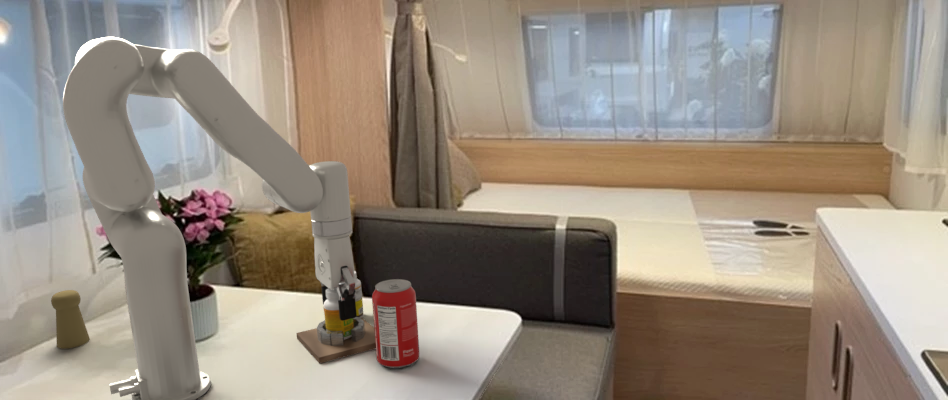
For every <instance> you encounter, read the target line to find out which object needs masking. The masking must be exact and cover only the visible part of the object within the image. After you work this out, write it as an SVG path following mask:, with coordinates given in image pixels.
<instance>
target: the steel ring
mask: <svg viewBox="0 0 948 400" xmlns="http://www.w3.org/2000/svg"><path fill="white" fill-rule="evenodd" d="M353 324H354V328H353V329H351V335H352V341H354V342H357V341H359V340H360V339H362V338H363V337H364V335H365V325H364V321H363V320H362V319H361V318H359V317H355V318H353ZM316 328H317V336H318V340H319V341H320V342H321V343H322V344H325V345H330V346H331V345H332V346H340V345H344V334H343V332H330V331H326V324H325V320H323V321H321V322H319V323H318V324H317V326H316Z"/></svg>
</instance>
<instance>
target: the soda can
mask: <svg viewBox="0 0 948 400" xmlns="http://www.w3.org/2000/svg"><path fill="white" fill-rule="evenodd" d="M374 287H375V289H374V291H373V292H372V295H371V301H372V302H371V303H372V315H373V316H372V318H373V327H374V330H375V343H376V349H375V355H376V361H377V362H378V364H379V365H381V366H383V367H386V368H389V369H404V368H408V367H409V366H411V365H412V364H414V363H416V362H417V361H418V360H419V357H420V342H419V340H420V339H419V327H418V326H419V325H418V311H417V310H418V309H417V308H418V307H417V296H416V290H415V289H414V288H413V287H412V283H411V281H409V280H407V279H403V278H402V279H401V278H400V279H399V278H396V279H394V278H393V279H392V278H391V279H386V280H382V281H380V282H378V283H376V284H375V285H374Z"/></svg>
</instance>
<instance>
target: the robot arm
mask: <svg viewBox="0 0 948 400" xmlns="http://www.w3.org/2000/svg"><path fill="white" fill-rule="evenodd" d="M129 95H134V96H135V95H136V96H142V97H150V98H151V97H152V98H163V99H172V100H173V99H175V101H176V102H177V103H178V104H179V105H180V106H181V107H182V108H183V109H184V110H185V111H186V113H188V114H189V115H190V116H191V117H192V119H193V120H194V121H195V122H196V123H197V124H198V125H199V126H200V127H201V128H202V129H203V130H204V132H205V133H206V135H208V136H209V137H210V138H211V139H212V140H213V142H214V143H215V144H216V145H217V146H218V147H220V148H221V149H222V150H224V151H225V152H226V153H227V154H228V155H230V156H232V157H233V158H235V159H237V160H238V161H240V162H241V163H243V164H245V165H246V166H247V167H249V168H250V169H251V170H252V171H253V172H255V174H257V175H258V176H259V177H260V178H261V179H262V180H261V181H262V182H261V190H262V192H263V195H264V196H265V198H266V199H267V200H269V202H271V203H273V204H274V205H276V206H279V207H281V208H284V209H286V210H289V211H291V212H293V213H295V214H296V213H298V214H306V213H308V212H309V213H310V221H311V231H312V237H313V238H314V239H313V240H314V241H313V244H314V245H313V246H314V269H315V278H316V279H317V280H318V281H319V282H320V285H321V298H322V305H323V306H324V302H325V301H326V300H327V298H326V289H328V288H329V289H331V290H334V288H337V291H338V295H339V298H340V300H338V305H339V316H340V320H342V321H343V320H348V319H352V318H355V317H356V316H357V315H356V303H355V297H356V296H355V292H356V291H355V276H354V271H355V267H354V257H353V251H352V243H351V238H350V235H352V234H353V224H352V223H353V222H352V212H351V211H352V210H351V200H350V187H349V176H348V175H349V173H348V168H347V166H346V164H344V163H343V162H342V161H336V160H335V161H334V160H333V161H332V160H331V161H329V160H328V161H327V160H326V161H319V162H315V163H312V164H309V163H307V162H306V161H305V159H304V158H303V156H301V155H300V153H299V152H298V151H297V150H296V149H295V148H294V147H293V146H292V145H291V144H289V143H288V141H286V140H285V138H284V137H282V136H281V135H280V134H279V133H278V132H277V131H276V130H275V129H274V128H273V127H272V126H271V125H270V124H269V123H268V121H265V120H264V119H263V118H262V117H261V116H260V115H259V113H257V112H256V111H255V110H254V109H253V107H252V106H251V105H250V104H249V103H248V102H247V101H246V99H244V97H243V96H242V95H241V94H240V93H239V91H238V90H237V89H236V88H235V87H234V85H232V83H231V82H230V81H229V80H228V79H227V78H226V77H225V75H224V74H223V73H222V72H221V71H220V69H219V68H218V67H217V65H215V63H214V62H212V60H211V59H210V58H208V57H207V56H206V55H204V53H202V52H200V51H198V50H194V49H191V48H188V49H187V48H182V49H171V48H170V49H169V48H161V47H154V46H147V45H141V44H136V43H135V44H134V43H132V42H131V41H128V40H126V39H124V38H120V37H115V36H105V37H100V38H95V39H94V38H93V39H91V40H89V41H87V42H86V43H84V44H83V45H82V46H81V47H80V48H79V50H78V51H77V53H76V56H75V58H74V66H73V67H72V69H71V71H70V73H69V75H68V76H67V80H66V83H65V86H64V89H63V95H62V96H63V97H62V108H63V109H62V110H63V115H64V119H65V123H66V125H67V128H68V131H69V134H70V136H71V138H72V141H73V143H74V146H75V148H76V151H77V153H78V155H79V156H78V157H79V159H80V160H81V163H82V165H83V169H82V181H83V182H82V183H83V185H84V189H85V192H86V194H87V196H88V198H89V200H90V202H91V203H90V204H91V205H92V207H93V209H94V212H95V213H96V215H97V217H98V221H99V222H100V224H101V226H102V228H103V231H104V232H105V235H106V237H107V238H108V241H109V243H110V245H111V246H112V248H113V249H114V250H115V252H116V253H117V255H119V257H120V258H121V263H122V267H123V275H124V289H125V296H126V304H127V305H126V306H127V309H128V310H127V312H128V315H129V321H130V326H131V327H130V328H131V335H132V340H133V346H134V353H135V360H136V367H137V369H135V370H134V372H135V374H134V375H131V376H129V378H128V379H123V380H121V379H120V380H116V381H113V382H109V383H108V384H109V389H110V394H111V395H114V394H119V397H120V398H122V397H125V396H129V395H131V400H197V399H199V398H200V397H202V396H204V395H205V394H206V393H207V392H208V391H209V390H210V387H211V385H212V384H211V383H212V382H211V377H210V376H209V374H207V373H206V372H203V371H200V365H199V360H198V359H199V357H198V351H197V344H196V336H195V330H194V329H195V328H194V322H193V316H192V314H193V313H192V306H191V301H190V293H189V286H188V285H189V283H188V272H187V271H188V270H187V247H186V242H185V239H184V236H183V234H182V231H181V230H180V229H179V227H178V226H177V224H176V223H174V222H173V221H172V220H171V219H170V218H168V217H167V216H165V215H164V214H163V213H162V211H161V209H160V207H159V205H158V203H157V200H156V198H155V195H154V194H155V193H154V192H155V187H156V183H155V181H156V180H155V177H154V173H153V171H152V169H151V167H150V165H149V164H148V161H147V160H146V158H145V156H144V153H143V150H142V149H141V146H140V144H139V141H138V139H137V137H136V135H135V132H134V130H133V126H132V124H131V121H130V118H129V115H128V110H127V103H128V102H127V101H128V97H129ZM343 282H346V283H344V284H339V283H343ZM343 288H347V289H345V290H344V293H343V292H342V289H343Z"/></svg>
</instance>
